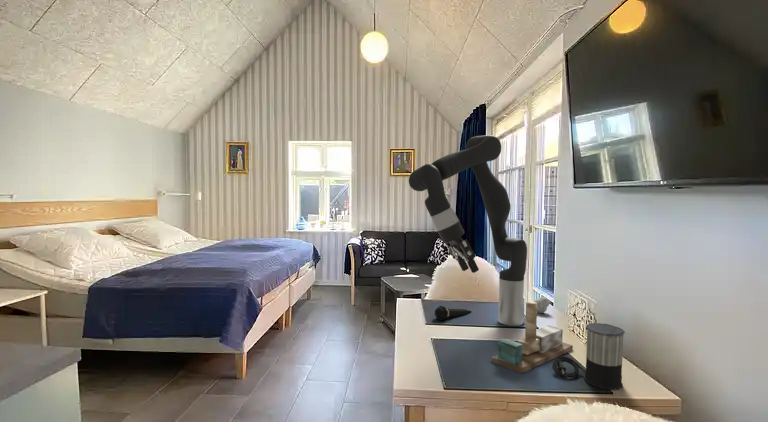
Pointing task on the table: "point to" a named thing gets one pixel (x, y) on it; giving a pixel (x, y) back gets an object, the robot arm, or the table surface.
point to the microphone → (449, 312)
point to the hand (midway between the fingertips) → (470, 270)
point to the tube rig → (520, 362)
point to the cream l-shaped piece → (530, 330)
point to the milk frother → (599, 357)
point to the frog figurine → (542, 304)
